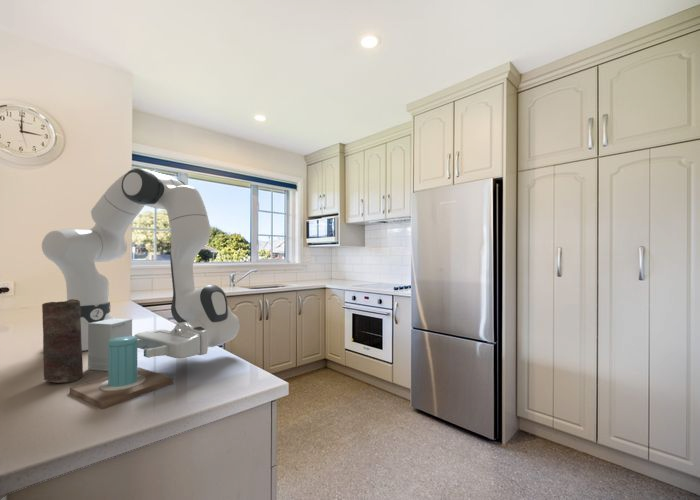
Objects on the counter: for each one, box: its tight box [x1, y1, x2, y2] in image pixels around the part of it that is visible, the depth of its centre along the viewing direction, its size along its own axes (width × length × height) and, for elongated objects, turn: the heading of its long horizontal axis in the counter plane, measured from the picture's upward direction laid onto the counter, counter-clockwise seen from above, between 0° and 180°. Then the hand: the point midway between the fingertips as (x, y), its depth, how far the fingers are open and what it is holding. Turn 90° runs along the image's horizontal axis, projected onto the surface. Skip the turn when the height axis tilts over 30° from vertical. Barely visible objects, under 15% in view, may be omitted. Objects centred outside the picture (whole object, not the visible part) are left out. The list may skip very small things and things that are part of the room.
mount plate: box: [69, 366, 174, 409], centre depth 78 cm, size 15×15×6 cm
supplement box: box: [87, 317, 133, 372], centre depth 93 cm, size 7×7×13 cm
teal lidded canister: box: [107, 335, 138, 387], centre depth 79 cm, size 6×6×10 cm
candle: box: [41, 299, 84, 384], centre depth 83 cm, size 8×7×20 cm
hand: (134, 350), depth 81 cm, fingers open, 8 cm apart
